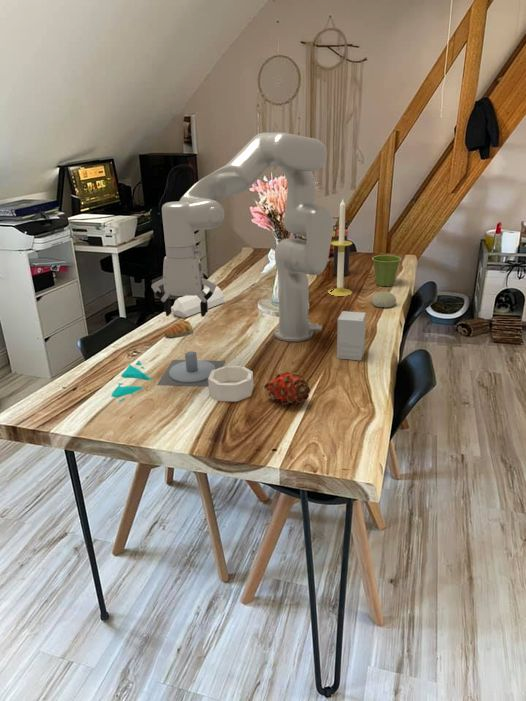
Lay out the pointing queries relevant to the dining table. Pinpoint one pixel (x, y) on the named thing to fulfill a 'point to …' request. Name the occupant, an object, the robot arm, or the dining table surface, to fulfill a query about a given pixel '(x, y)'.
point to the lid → (191, 369)
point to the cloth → (126, 390)
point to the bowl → (230, 383)
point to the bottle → (346, 255)
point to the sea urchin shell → (383, 299)
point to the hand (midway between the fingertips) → (186, 314)
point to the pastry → (179, 329)
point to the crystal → (196, 303)
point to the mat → (168, 381)
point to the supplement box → (351, 335)
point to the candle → (341, 255)
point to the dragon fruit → (288, 388)
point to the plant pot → (385, 269)
